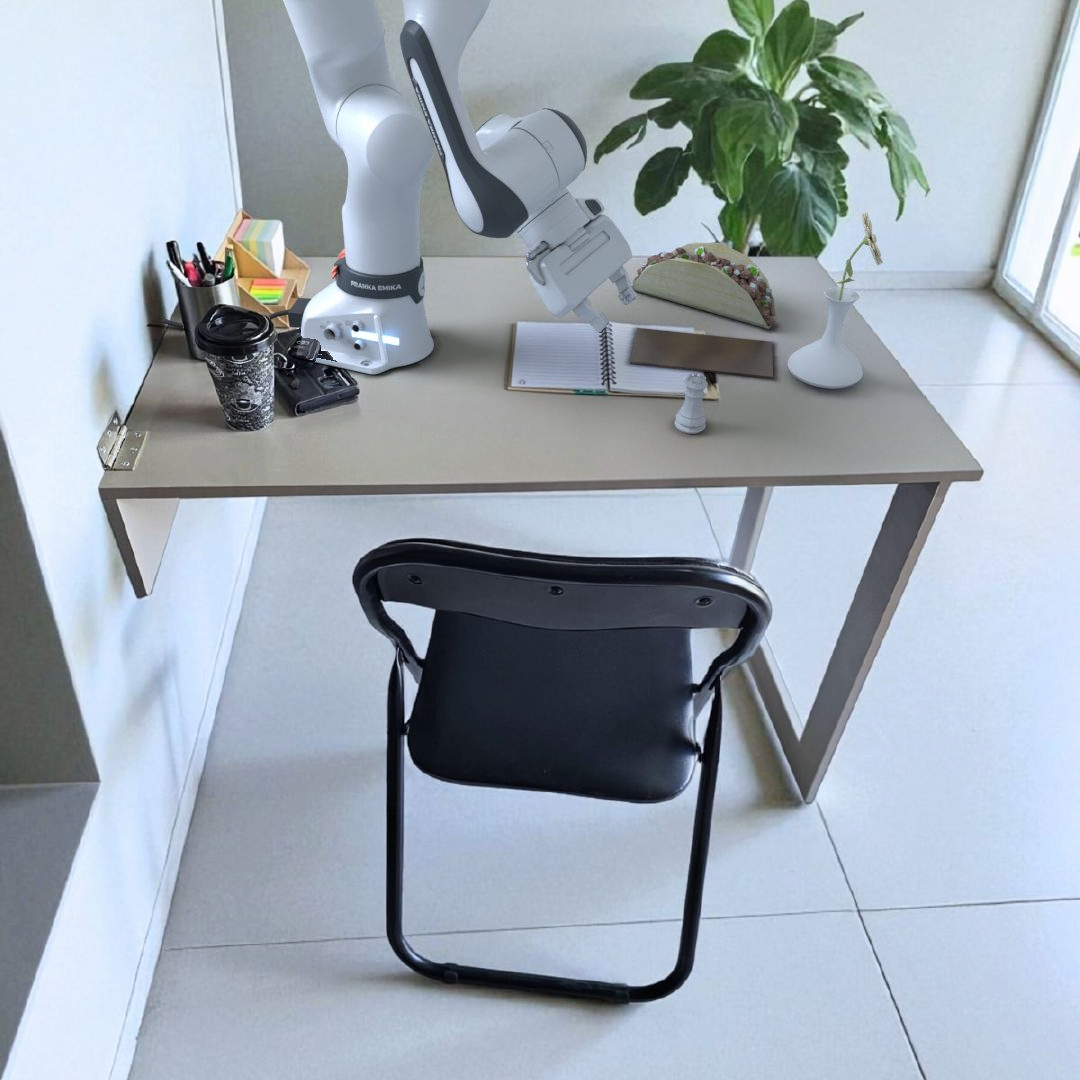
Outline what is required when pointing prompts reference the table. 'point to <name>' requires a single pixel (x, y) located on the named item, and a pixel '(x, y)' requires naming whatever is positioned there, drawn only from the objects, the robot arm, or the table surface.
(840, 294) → the flower in vase
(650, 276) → the taco
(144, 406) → the table surface
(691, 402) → the rook chess piece
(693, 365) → the brown wooden board
